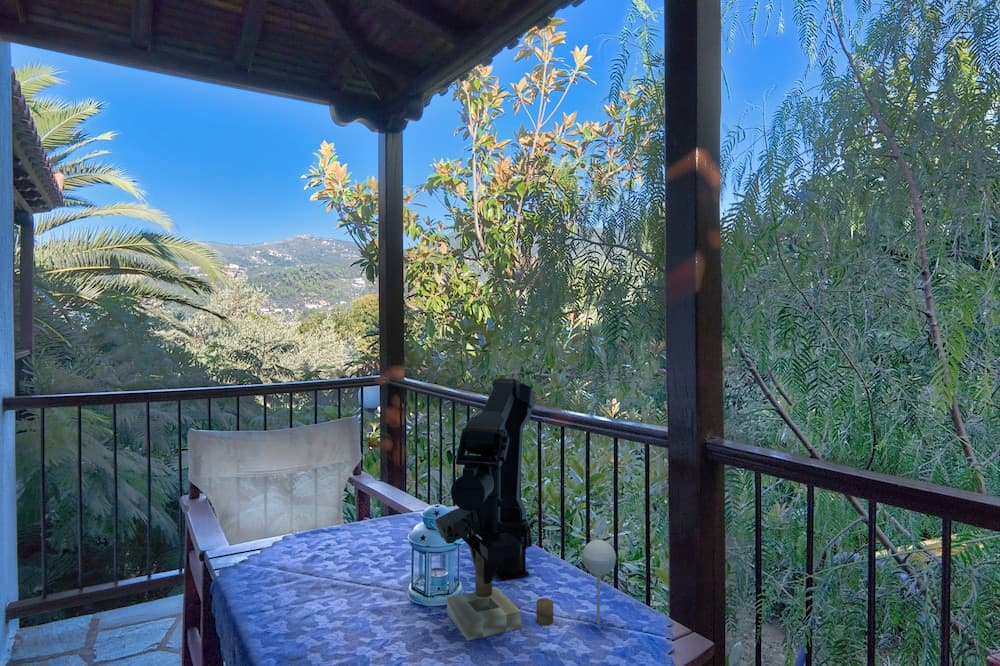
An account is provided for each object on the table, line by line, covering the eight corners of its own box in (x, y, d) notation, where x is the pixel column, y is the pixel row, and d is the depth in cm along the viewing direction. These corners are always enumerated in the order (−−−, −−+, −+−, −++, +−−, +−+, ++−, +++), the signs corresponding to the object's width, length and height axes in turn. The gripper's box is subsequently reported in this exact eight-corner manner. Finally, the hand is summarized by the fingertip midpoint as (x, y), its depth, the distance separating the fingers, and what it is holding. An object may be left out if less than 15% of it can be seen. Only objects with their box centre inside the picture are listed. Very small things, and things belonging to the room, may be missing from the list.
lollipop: (607, 637, 104) (608, 550, 103) (575, 627, 107) (576, 543, 107) (620, 622, 109) (621, 538, 109) (589, 613, 112) (590, 532, 112)
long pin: (488, 588, 111) (488, 545, 111) (494, 595, 108) (495, 551, 108) (472, 591, 110) (472, 547, 110) (479, 598, 107) (479, 553, 107)
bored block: (497, 603, 116) (497, 587, 116) (520, 628, 107) (521, 611, 107) (447, 613, 112) (447, 597, 112) (467, 640, 103) (467, 623, 102)
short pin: (548, 615, 111) (548, 596, 111) (556, 623, 109) (556, 604, 108) (533, 619, 110) (533, 600, 110) (541, 627, 107) (541, 607, 107)
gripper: (424, 484, 114) (424, 567, 114) (460, 515, 97) (459, 612, 97) (479, 478, 118) (479, 557, 119) (523, 506, 101) (522, 599, 102)
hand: (483, 579), depth 109 cm, fingers closed on long pin, 3 cm apart
